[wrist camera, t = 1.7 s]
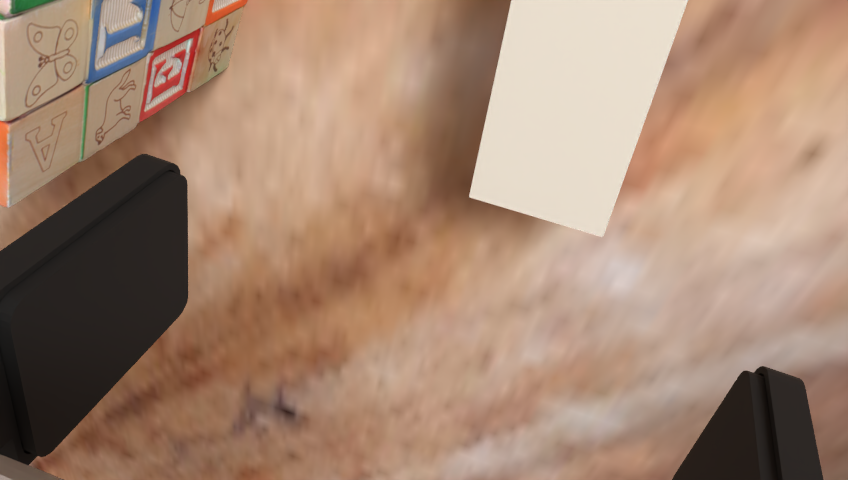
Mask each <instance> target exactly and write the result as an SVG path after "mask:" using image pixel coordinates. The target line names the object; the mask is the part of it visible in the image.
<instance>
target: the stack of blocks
mask: <svg viewBox="0 0 848 480" xmlns="http://www.w3.org/2000/svg"><path fill="white" fill-rule="evenodd" d="M246 3H247V0H0V205H2V206H4V207H11V206H12V205H14V204H16V203H18V202H19V201H21V200H22V199H24V198H25V197H26V196H28V195H29V194H31V193H33V192H34V191H36V190H37V189H39V188H40V187H42V186H43V185H45V184H47V183H48V182H50V181H51V180H52V179H54V178H55V177H57V176H58V175H60V174H61V173H63V172H64V171H66V170H67V169H69V168H70V167H72V166H73V165H75V164H76V163H78V162H82V161H84V160H86V159H87V158H89V157H91V156H92V155H93V154H95V153H96V152H97V151H99V150H102V149H104V148H105V147H106V146H107V145H109V144H111V143H112V142H113V141H115V140H117V139H119V138H121V137H122V136H124V135H125V134H127V133H128V132H130V131H131V130H133V129H134V128H135V127H136V126H137V123H139V122H141V121H143V120H145V119H146V118H148V117H150V116H151V115H153V114H155V113H156V112H158V111H159V110H161V109H162V108H164V107H165V106H167V105H168V104H170V103H171V102H173V101H174V100H176V99H177V98H179V97H180V96H182V95H183V94H184V93H185V92H192V91H194V90H195V89H196V88H198V87H200V86H201V85H203V84H204V83H206V82H207V81H209V80H210V79H212V78H213V77H214V76H216V75H218V74H219V73H220V72H222V71H224V70H225V69H226V68H227V67H228V65H229V61H230V57H231V54H232V50H233V46H234V42H235V38H236V34H237V31H238V27H239V23H240V19H241V15H242V11H243V8H244V5H245V4H246Z"/></svg>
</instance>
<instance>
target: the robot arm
mask: <svg viewBox="0 0 848 480" xmlns="http://www.w3.org/2000/svg"><path fill="white" fill-rule="evenodd" d="M187 299H188V208H187V180H186V178H185V177H184V176H182V175H180V170H179V168H178V166H177V165H175V164H174V163H171V162H168V161H165V160H162V159H159V158H156V157H153V156H150V155H147V154H141V155H139V156H137V157H135V158H134V159H133V160H131V161H130V162H128V163H127V164H125V165H124V166H122V167H121V168H120V169H118V170H117V171H115V172H114V173H112V174H111V175H109V176H108V177H107V178H105V179H104V180H102V181H101V182H99V183H98V184H96V185H95V186H94V187H92V188H91V189H89V190H88V191H86V192H85V193H83V194H82V195H81V196H79V197H78V198H76V199H75V200H73V201H72V202H70V203H69V204H68V205H66V206H65V207H63V208H62V209H60V210H59V211H57V212H56V213H55V214H53V215H52V216H50V217H49V218H47V219H46V220H44V221H43V222H42V223H40V224H39V225H37V226H36V227H34V228H33V229H31V230H30V231H29V232H27V233H26V234H24V235H23V236H21V237H20V238H18V239H17V240H16V241H14V242H13V243H11V244H10V245H8V246H7V247H6V248H4V249H3V250H1V251H0V480H63V479H61V478H58V477H56V476H54V475H51V474H49V473H46V472H44V471H41V470H39V469H36V468H34V467H31V466H28V465H29V464H30V463H31V462H32V461H33V460H34V459H35V458H36V457H37V456H40V457H44V456H46V455H48V454H50V453H51V452H52V451H53V450H54V449H55V448H56V447H57V446H58V445H59V444H60V443H61V442H62V441H63V439H64V438H65V437H66V436H67V435H68V434H69V433H70V432H71V431H72V430H73V429H74V428H75V427H76V426H77V425H78V424H79V422H80V421H81V420H82V419H83V418H84V417H85V416H86V415H87V414H88V413H89V412H90V411H91V410H92V409H93V408H94V406H95V405H96V404H97V403H98V402H99V401H100V400H101V399H102V398H103V397H104V396H105V395H106V394H107V393H108V392H109V390H110V389H111V388H112V387H113V386H114V385H115V384H116V383H117V382H118V381H119V380H120V379H121V378H122V377H123V376H124V374H125V373H126V372H127V371H128V370H129V369H130V368H131V367H132V366H133V365H134V364H135V363H136V362H137V361H138V360H139V358H140V357H141V356H142V355H143V354H144V353H145V352H146V351H147V350H148V349H149V348H150V347H151V346H152V345H153V344H154V342H155V341H156V340H157V339H158V338H159V337H160V336H161V335H162V334H163V333H164V332H165V331H166V330H167V329H168V328H169V327H170V325H171V324H172V323H173V322H174V321H175V320H176V319H177V318H178V317H179V316H180V314H181V313H182V312H183V310H184V308H185V306H186V303H187ZM672 480H823V476H822V471H821V466H820V460H819V455H818V450H817V445H816V440H815V435H814V430H813V425H812V420H811V415H810V409H809V404H808V399H807V394H806V389H805V385H804V382H803V381H802V380H801V379H799V378H796V377H794V376H791V375H788V374H785V373H782V372H779V371H776V370H773V369H770V368H767V367H764V366H762V367H759V368H758V369H757V370H756V371H755V372H754V373H752V372H749V371H743V372H742V373H741V374H740V375H739V377H738V378H737V380H736V381H735V383H734V384H733V386H732V388H731V389H730V391H729V392H728V394H727V395H726V397H725V398H724V400H723V401H722V403H721V404H720V406H719V408H718V409H717V411H716V412H715V414H714V415H713V417H712V418H711V420H710V421H709V423H708V424H707V426H706V427H705V429H704V431H703V432H702V434H701V435H700V437H699V438H698V440H697V441H696V443H695V444H694V446H693V447H692V449H691V451H690V452H689V454H688V455H687V457H686V458H685V460H684V461H683V463H682V464H681V466H680V467H679V469H678V471H677V472H676V474H675V475H674V477H673V479H672Z"/></svg>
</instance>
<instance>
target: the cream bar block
mask: <svg viewBox="0 0 848 480" xmlns="http://www.w3.org/2000/svg"><path fill="white" fill-rule="evenodd" d="M687 2H688V0H511V4H510V9H509V14H508V18H507V23H506V28H505V32H504V37H503V41H502V46H501V51H500V55H499V60H498V65H497V69H496V74H495V78H494V83H493V88H492V92H491V97H490V102H489V106H488V111H487V116H486V120H485V125H484V129H483V134H482V139H481V143H480V148H479V153H478V157H477V162H476V167H475V171H474V176H473V180H472V185H471V190H470V194H469V197H470V198H473V199H477V200H480V201H483V202H487V203H490V204H493V205H497V206H500V207H503V208H507V209H510V210H513V211H517V212H520V213H523V214H527V215H530V216H533V217H537V218H540V219H543V220H547V221H550V222H553V223H557V224H560V225H563V226H567V227H570V228H573V229H577V230H580V231H583V232H587V233H590V234H593V235H597V236H600V237H603V236H604V233H605V230H606V227H607V225H608V222H609V219H610V216H611V213H612V211H613V208H614V205H615V202H616V200H617V197H618V194H619V191H620V188H621V186H622V183H623V180H624V177H625V174H626V172H627V169H628V166H629V163H630V160H631V158H632V155H633V152H634V149H635V147H636V144H637V141H638V138H639V135H640V133H641V130H642V127H643V124H644V121H645V119H646V116H647V113H648V110H649V108H650V105H651V102H652V99H653V96H654V94H655V91H656V88H657V85H658V82H659V80H660V77H661V74H662V71H663V69H664V66H665V63H666V60H667V57H668V55H669V52H670V49H671V46H672V43H673V41H674V38H675V35H676V32H677V30H678V27H679V24H680V21H681V18H682V16H683V13H684V10H685V7H686V4H687Z"/></svg>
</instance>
